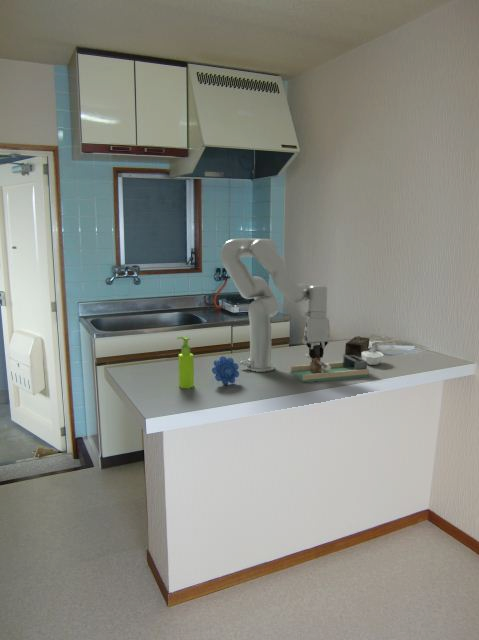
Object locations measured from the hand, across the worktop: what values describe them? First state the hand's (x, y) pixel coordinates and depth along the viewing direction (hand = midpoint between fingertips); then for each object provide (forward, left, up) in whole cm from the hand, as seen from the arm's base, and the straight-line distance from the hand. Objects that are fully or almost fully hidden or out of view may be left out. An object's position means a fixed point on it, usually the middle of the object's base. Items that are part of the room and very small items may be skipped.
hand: (316, 356), depth 216 cm
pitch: (+6, 0, -9) cm, 11 cm away
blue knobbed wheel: (-40, -1, -9) cm, 41 cm away
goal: (+18, 0, -7) cm, 20 cm away
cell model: (+33, +10, -9) cm, 36 cm away
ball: (+5, 0, -5) cm, 7 cm away
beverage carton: (+38, +32, -9) cm, 51 cm away
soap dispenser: (-56, +3, -9) cm, 56 cm away
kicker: (0, 0, -7) cm, 7 cm away
